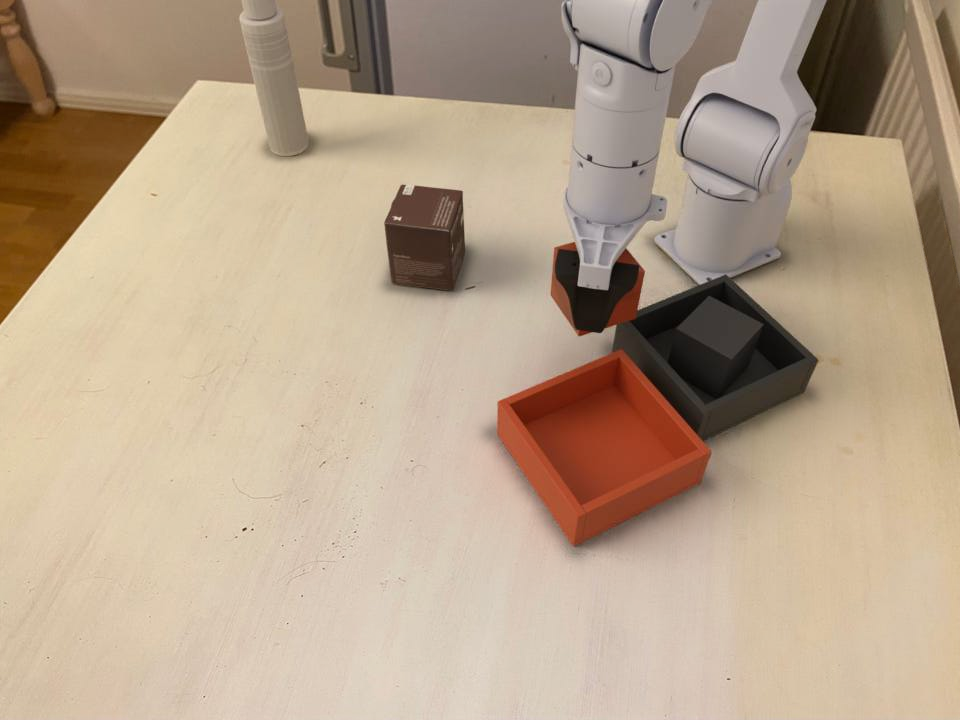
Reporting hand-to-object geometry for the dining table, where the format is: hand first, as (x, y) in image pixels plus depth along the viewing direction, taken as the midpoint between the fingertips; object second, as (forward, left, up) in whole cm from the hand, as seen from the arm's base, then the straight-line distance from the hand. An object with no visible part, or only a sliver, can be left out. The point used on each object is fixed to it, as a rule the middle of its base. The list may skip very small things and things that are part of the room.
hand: (594, 294), depth 63 cm
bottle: (+11, -44, -9) cm, 46 cm away
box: (+6, -18, -9) cm, 21 cm away
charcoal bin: (-9, +5, -9) cm, 13 cm away
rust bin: (+4, +8, -9) cm, 13 cm away
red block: (0, 0, -1) cm, 1 cm away
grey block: (-9, +5, -8) cm, 13 cm away
